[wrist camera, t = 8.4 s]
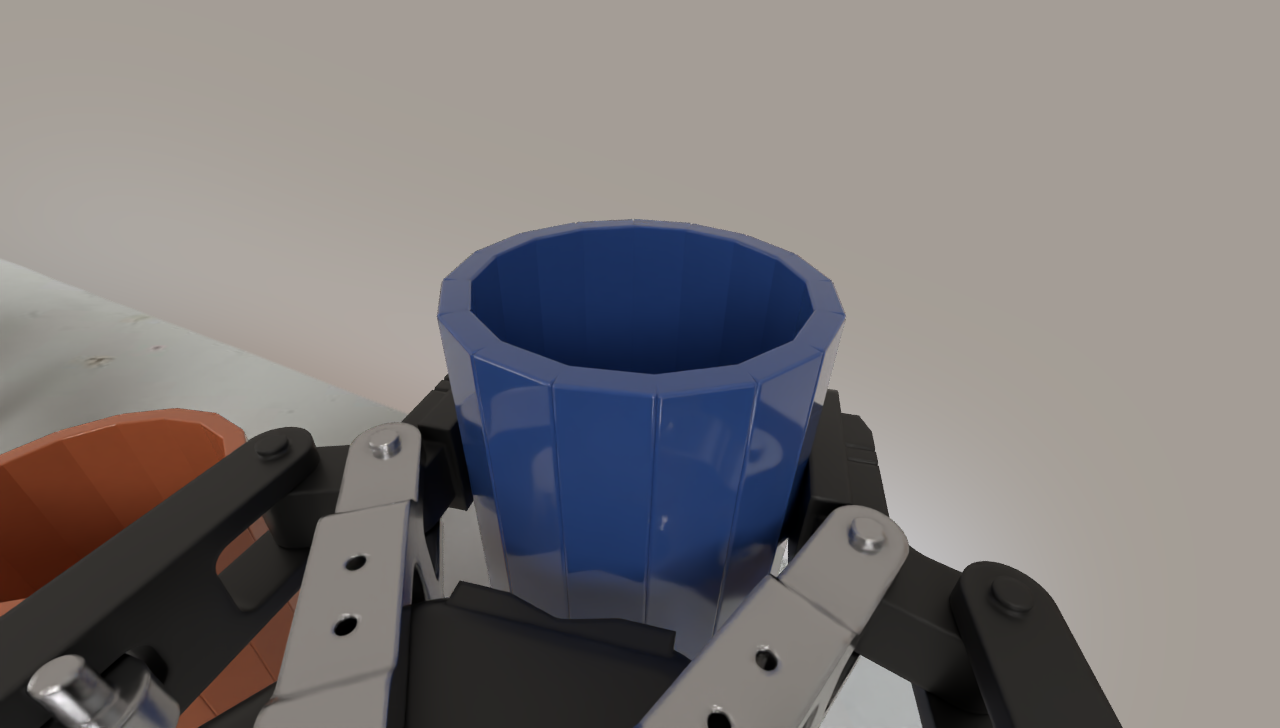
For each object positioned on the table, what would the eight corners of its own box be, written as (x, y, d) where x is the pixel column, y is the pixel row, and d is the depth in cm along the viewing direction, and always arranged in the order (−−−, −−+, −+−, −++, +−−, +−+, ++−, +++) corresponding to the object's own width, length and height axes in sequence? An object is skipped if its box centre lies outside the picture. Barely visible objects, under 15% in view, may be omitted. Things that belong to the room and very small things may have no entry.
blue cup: (806, 647, 14) (927, 304, 9) (594, 839, 11) (576, 469, 5) (652, 494, 18) (668, 202, 13) (466, 595, 15) (385, 258, 10)
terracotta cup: (369, 730, 17) (263, 522, 12) (101, 896, 14) (-216, 709, 9) (326, 584, 22) (233, 382, 16) (114, 683, 18) (-92, 470, 13)
